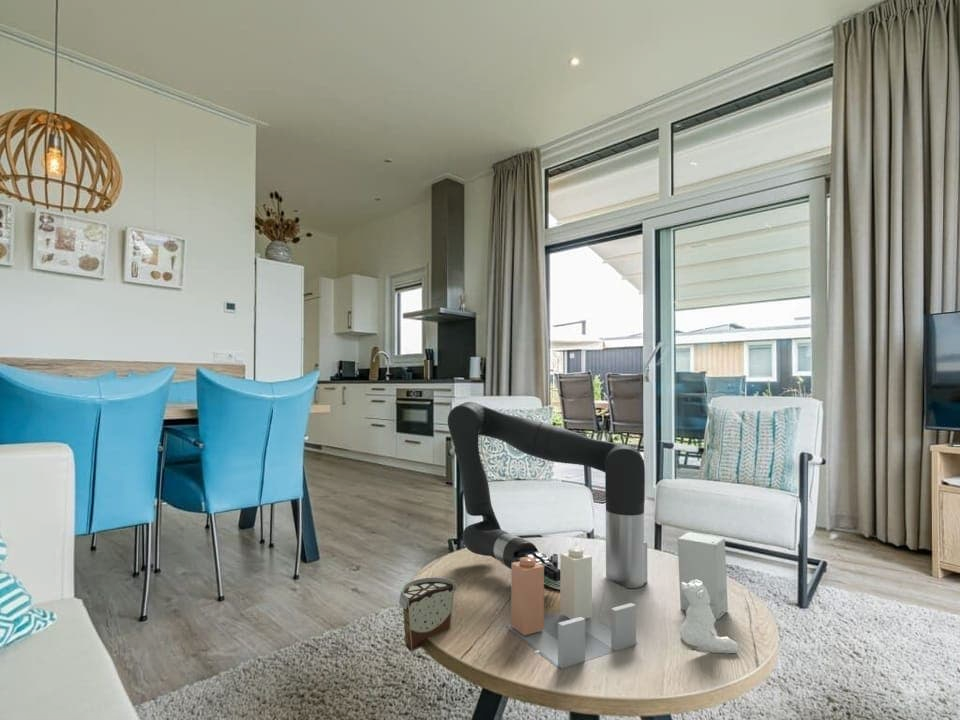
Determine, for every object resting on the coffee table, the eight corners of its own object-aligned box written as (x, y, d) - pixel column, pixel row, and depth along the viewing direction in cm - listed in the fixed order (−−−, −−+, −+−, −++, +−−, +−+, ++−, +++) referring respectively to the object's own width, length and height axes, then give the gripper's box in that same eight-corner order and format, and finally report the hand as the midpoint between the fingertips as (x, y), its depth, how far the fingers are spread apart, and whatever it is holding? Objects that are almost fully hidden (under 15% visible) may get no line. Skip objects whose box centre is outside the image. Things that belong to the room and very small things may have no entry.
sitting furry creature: (741, 654, 94) (740, 586, 95) (703, 662, 91) (703, 593, 92) (702, 630, 103) (701, 569, 104) (666, 637, 100) (666, 574, 101)
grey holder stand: (577, 613, 110) (577, 574, 110) (638, 650, 95) (638, 604, 96) (503, 633, 101) (503, 591, 101) (557, 677, 86) (557, 627, 87)
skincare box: (728, 611, 112) (727, 538, 113) (717, 621, 107) (717, 545, 108) (689, 600, 118) (688, 530, 118) (677, 609, 113) (676, 536, 113)
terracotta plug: (530, 620, 103) (530, 554, 104) (543, 630, 99) (543, 561, 100) (511, 625, 101) (511, 557, 102) (524, 635, 97) (524, 565, 98)
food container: (435, 621, 106) (436, 571, 107) (456, 632, 102) (456, 580, 102) (385, 642, 98) (386, 588, 98) (404, 654, 93) (405, 597, 94)
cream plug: (577, 608, 109) (577, 545, 110) (591, 616, 105) (591, 551, 106) (560, 612, 107) (560, 548, 108) (574, 621, 103) (574, 555, 104)
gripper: (491, 541, 123) (534, 563, 108) (537, 533, 130) (583, 553, 114) (491, 573, 123) (533, 600, 108) (537, 564, 129) (583, 588, 114)
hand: (559, 576), depth 111 cm, fingers closed
